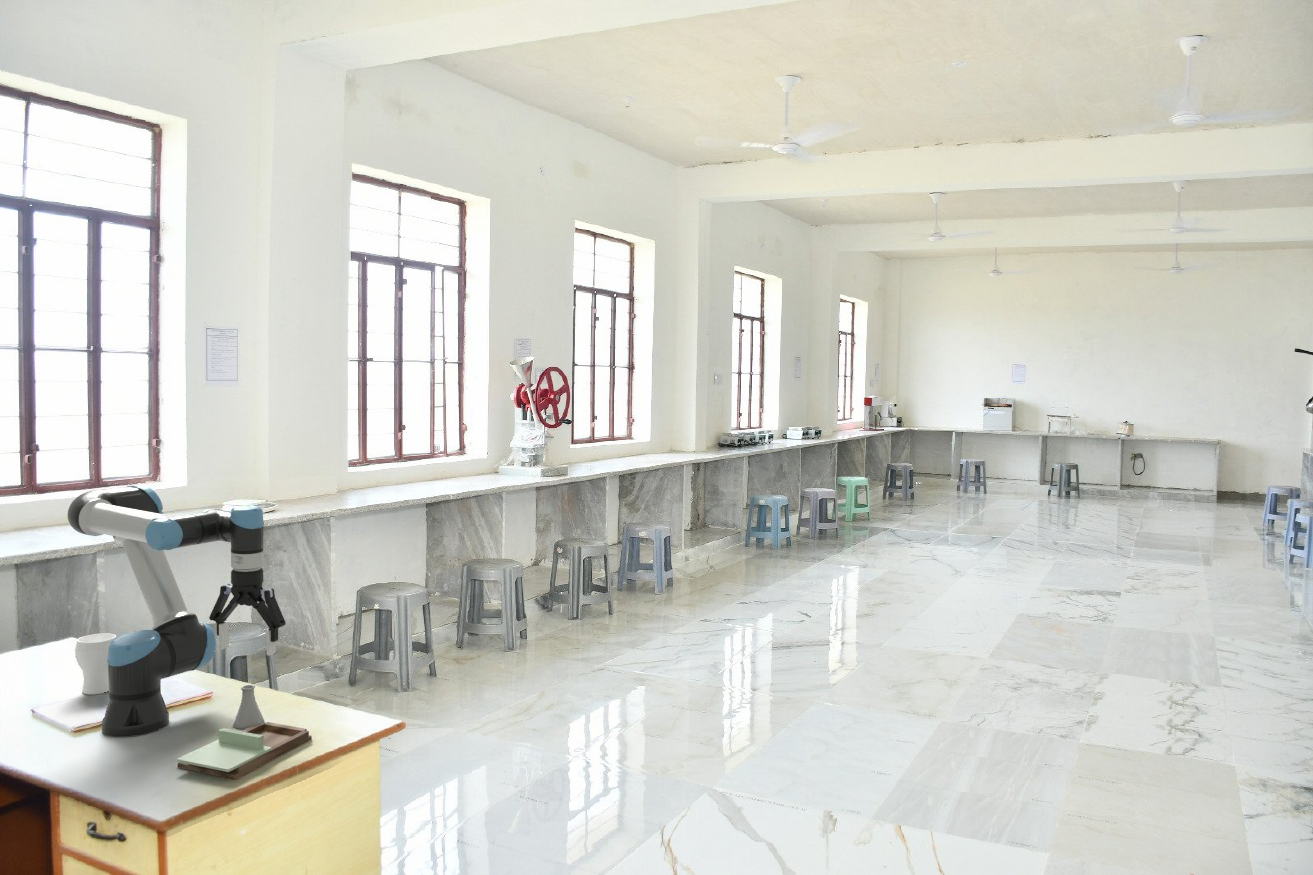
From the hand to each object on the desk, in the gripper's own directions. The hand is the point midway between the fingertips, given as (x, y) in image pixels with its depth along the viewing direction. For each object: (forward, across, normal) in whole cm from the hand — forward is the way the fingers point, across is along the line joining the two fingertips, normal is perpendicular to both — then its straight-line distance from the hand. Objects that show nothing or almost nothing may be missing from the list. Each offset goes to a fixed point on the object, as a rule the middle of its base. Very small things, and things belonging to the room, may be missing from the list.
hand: (247, 651), depth 247 cm
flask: (+21, -2, +3) cm, 21 cm away
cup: (+22, -58, +14) cm, 63 cm away
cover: (+17, +10, -21) cm, 29 cm away
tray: (+20, +10, -13) cm, 26 cm away
